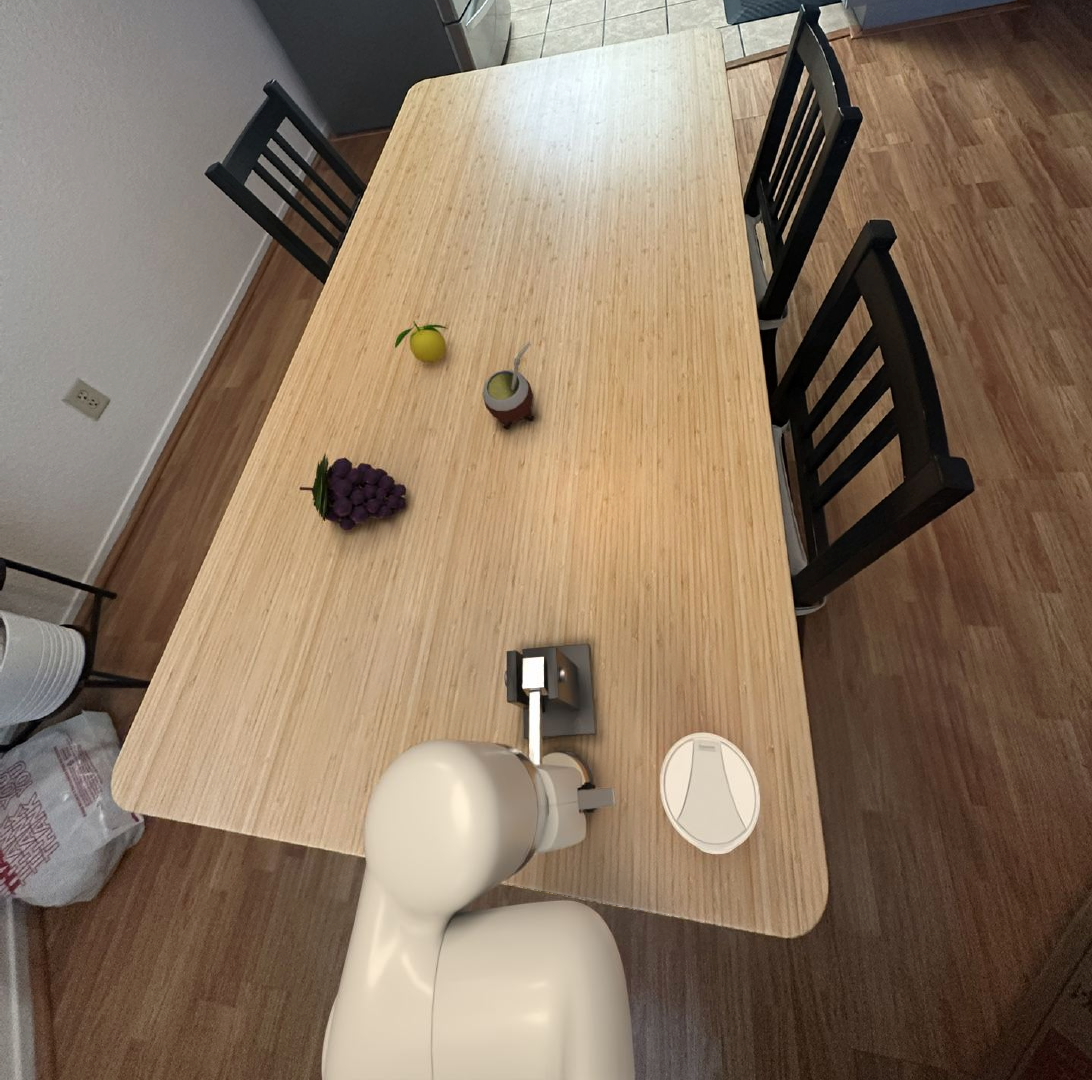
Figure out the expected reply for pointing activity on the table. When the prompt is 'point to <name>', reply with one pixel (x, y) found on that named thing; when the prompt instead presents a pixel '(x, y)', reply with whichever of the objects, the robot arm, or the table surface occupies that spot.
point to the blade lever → (535, 701)
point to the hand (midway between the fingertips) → (541, 796)
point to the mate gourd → (509, 395)
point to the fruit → (354, 493)
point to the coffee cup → (709, 792)
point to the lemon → (425, 342)
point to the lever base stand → (557, 690)
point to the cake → (569, 763)
